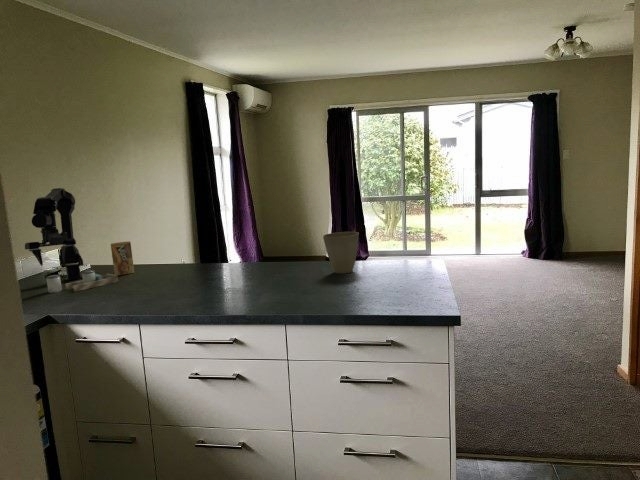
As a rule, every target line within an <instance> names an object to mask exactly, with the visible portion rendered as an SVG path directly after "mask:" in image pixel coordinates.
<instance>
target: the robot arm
mask: <svg viewBox="0 0 640 480" xmlns="http://www.w3.org/2000/svg"><path fill="white" fill-rule="evenodd" d="M75 205H76V198H75V196H74V195H73V194H72V193H71V192H69V191H67V190H65V188H62V187H60V188H59V187H58V188H57V187H56V188H52V189H51V191H50V192H49V193H48V194H47V195H46V196H41V197H38V198H36V200H35V202H34V206H33V212H32V214H33V216H32V218H31V224H32V226H34V227H35V228H37V229H41V230H40V233H41V237H42V239H41V242H40V241H31V242H25V244H24V250H28V252H31V253H32V254H33V256H34V257H35V258H36V260H37V261H38V263H39V265H40V266H41V267H43V266H44V264H43V258H42V249H41V248H43V247H53V246H60V247H61V248H60V249H59V257H58V259H59V263H60V266H61V268H63V269H64V268H65V270H66V278H64V280H66V281H75V280H80V279H82V274H81V269H80V267H81V266H84V260H83V258H82V255H81V254H80V251H79V249H78V248H77V246H76V245H77V240H76V239H75V237H74V229H73V218H72V214H73V213H74V210H75ZM56 211H57V212H58V213H59V214H60V215H59V216H60V225H61V233H59V229H58V228H57V221H56V220H57V219H56ZM61 245H62V246H61Z"/></svg>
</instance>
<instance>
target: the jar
mask: <svg viewBox="0 0 640 480" xmlns="http://www.w3.org/2000/svg"><path fill="white" fill-rule="evenodd" d="M45 280H46V285H47V292H48V293H50V294H51V293H53V292H54V293H59V292H62V291H63V289H62V282H61V276H60V275H59V274H53V275H49V276H46V279H45ZM54 293H53V294H54Z"/></svg>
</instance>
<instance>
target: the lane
mask: <svg viewBox="0 0 640 480" xmlns="http://www.w3.org/2000/svg"><path fill="white" fill-rule="evenodd" d="M118 282H119V277H118V275H115V274H113V273H112V274H111V273H105V275H102V280H98V281H93V282H89V283H84V284H83V279H82V280H77V281H73V282H72V281H71V282H69V283H65V290H71V289H73V292H80V291H84V290H89V289H92V288H97V287H98V288H99V287H101V286H102V287H103V286H107V285H111V284H114V283H115V284H116V283H118Z"/></svg>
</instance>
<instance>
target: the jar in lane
mask: <svg viewBox="0 0 640 480" xmlns="http://www.w3.org/2000/svg"><path fill="white" fill-rule="evenodd" d="M95 274H96V273H95V270H94V269H93V270H89V269H88V270H84V271H81V276H82V278H81V279H82V280H83V284H84V283H89V282H93V281H96V277H95Z"/></svg>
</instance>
